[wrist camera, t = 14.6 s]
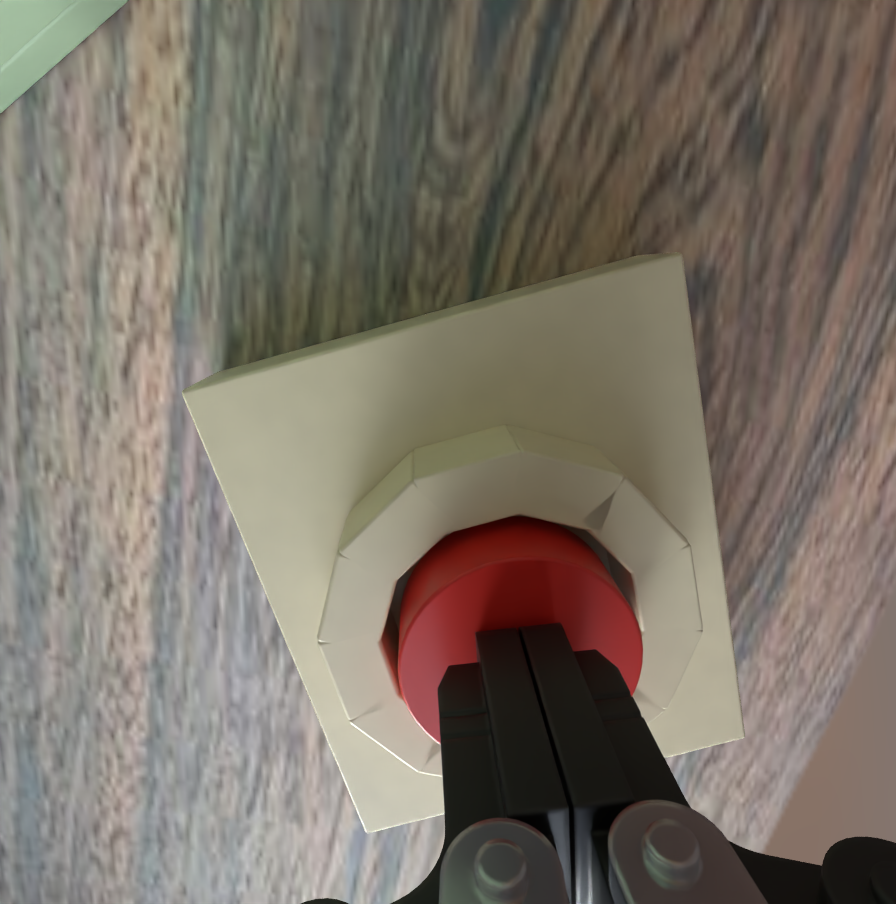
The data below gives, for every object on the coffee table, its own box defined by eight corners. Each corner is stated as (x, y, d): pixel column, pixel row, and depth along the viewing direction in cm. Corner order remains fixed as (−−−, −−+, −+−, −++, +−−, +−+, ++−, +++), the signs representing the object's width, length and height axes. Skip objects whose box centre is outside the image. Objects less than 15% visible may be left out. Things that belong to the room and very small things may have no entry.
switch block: (640, 254, 13) (734, 247, 9) (705, 679, 17) (791, 801, 13) (215, 371, 13) (135, 412, 9) (371, 765, 17) (358, 909, 13)
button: (591, 489, 11) (622, 528, 9) (628, 671, 12) (661, 733, 11) (372, 547, 11) (365, 596, 10) (432, 722, 13) (434, 791, 11)
